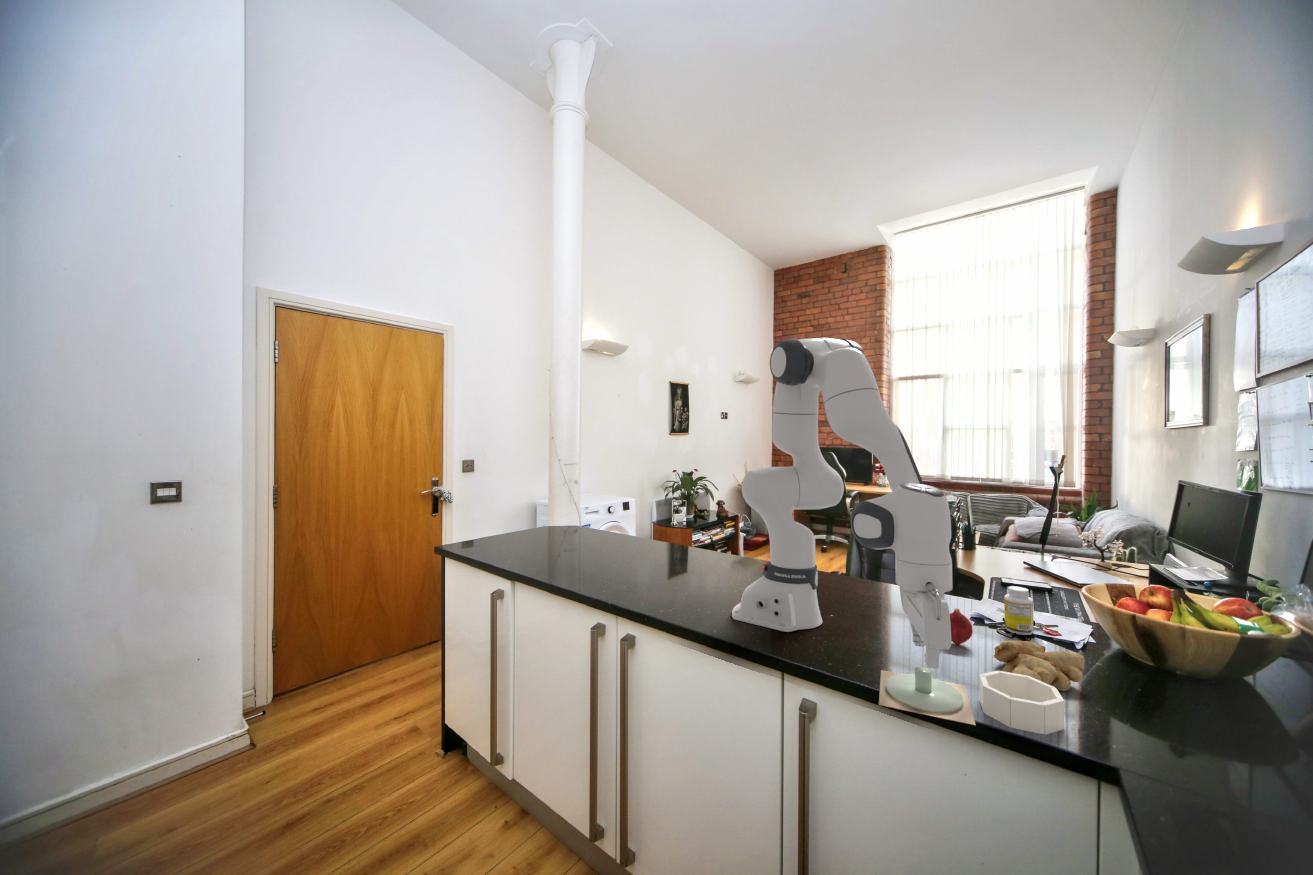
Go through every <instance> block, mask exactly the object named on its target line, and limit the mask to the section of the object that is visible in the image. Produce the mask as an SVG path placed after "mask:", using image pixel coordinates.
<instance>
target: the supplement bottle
mask: <svg viewBox="0 0 1313 875" xmlns="http://www.w3.org/2000/svg"><path fill="white" fill-rule="evenodd" d="M1003 600H1004V601H1003V602H1004V605H1003V606H1004V608H1003V609H1004V628H1005V630H1006V631H1008V632H1010V633H1013V634H1015V633H1016V635H1021V636H1030V635H1033V633H1034V600H1033V599H1032V598H1031V597H1030V592H1029V589H1028V588H1026V587H1022V586H1015V585H1011V586H1008V588H1007V594H1005V595H1004V599H1003Z"/></svg>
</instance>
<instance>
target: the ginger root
mask: <svg viewBox="0 0 1313 875" xmlns="http://www.w3.org/2000/svg"><path fill="white" fill-rule="evenodd" d="M993 658H994V659H996V660H997V661H999V662H1001V663H1005V664H1004V666H1003V667H1002V669H1001V671H1004V672H1010V673H1016V674H1022V675H1027V676H1030V677H1033V678H1035V679H1037V680H1039V681H1042V682H1044V683H1046V684H1049V685H1051V686H1053V687H1055V688H1056V689H1057V690H1058V691H1061V692H1067V691H1069V690H1070V689H1071V684H1072V683H1071V681H1072V682H1073V683H1074V682H1075V683H1080V682H1081V681H1082V680H1083V679H1084V676H1083V673H1082V671H1084V670H1085V664H1086V659H1085V657H1084V655H1082V654H1078V653H1075V652H1070V651H1061V650H1060V651H1058V650H1055V651H1046V646H1044V645H1042V644H1039V643H1036V642H1034V641H1027V640H1025V641H1024V640H1006V641H1002V642H1000V644H999V645H997V646H995V647H994V655H993Z"/></svg>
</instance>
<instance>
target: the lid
mask: <svg viewBox="0 0 1313 875" xmlns="http://www.w3.org/2000/svg"><path fill="white" fill-rule="evenodd" d="M932 672H933V671H932V670H931V669H930V668H928V667H922V666H917V667H915V668H914V673H900V674H898V675H894V676H891V677H889V678H888V679H887V681H886V690H887V692H888V693H889V695H890V696H891V697H893V698H894V699H895V700H897V701H898V702H900V703H902V704H904V705H906V706H909V707H911V708H914V709H918V710H921V711H925V712H931V713H952V712H956V711H958V710H960V709H961V708H962V707H963V697H962V695H961V693H960V692H959V691H958V690H956V689H955V688H954V687H952V686H950V685H949V684H947V683H945V682H946V681H944V682H942V681H943V680H940V679H936V678H933V676H932V675H933V674H932Z"/></svg>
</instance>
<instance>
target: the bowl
mask: <svg viewBox="0 0 1313 875" xmlns="http://www.w3.org/2000/svg"><path fill="white" fill-rule="evenodd" d="M979 702H980V706H981V709H982V712H983V713H984V714H985V715H986V716H989V717H990V718H992V719H994V720H996V721H998V722H999V723H1001V724H1003V725H1005V726H1007V727H1008V728H1011V729H1017V730H1021V731H1025V732H1030V733H1034V734H1039V735H1049V734H1053V733H1055V732H1060V731H1063V730H1065V700H1064V699H1063V696H1062V695H1061V693H1060V692H1059V690H1057V689H1056V688H1055V687H1053V686H1051V685H1049V684H1046V683H1044V682H1042V681H1039V680H1037V679H1035V678H1033V677H1030V676H1027V675H1022V674H1016V673H1010V672H1004V671H1002V670H994V671H989V672H985V673H979Z"/></svg>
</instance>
